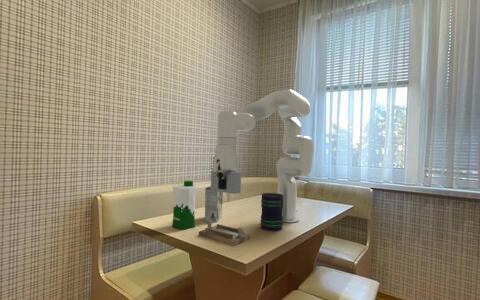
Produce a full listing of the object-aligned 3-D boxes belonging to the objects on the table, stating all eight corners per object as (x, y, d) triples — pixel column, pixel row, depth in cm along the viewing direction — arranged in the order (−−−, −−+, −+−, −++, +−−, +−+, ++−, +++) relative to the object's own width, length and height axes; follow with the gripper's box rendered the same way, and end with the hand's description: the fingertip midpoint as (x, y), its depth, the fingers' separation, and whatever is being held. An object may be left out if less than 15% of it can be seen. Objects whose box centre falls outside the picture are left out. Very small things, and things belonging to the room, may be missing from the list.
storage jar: (258, 229, 115) (259, 195, 115) (262, 224, 124) (263, 192, 124) (281, 232, 112) (282, 197, 112) (283, 226, 122) (284, 193, 122)
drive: (216, 189, 110) (217, 170, 110) (240, 192, 103) (241, 172, 103) (210, 190, 107) (211, 170, 107) (234, 193, 100) (235, 172, 100)
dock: (214, 229, 114) (215, 217, 114) (249, 238, 104) (250, 225, 104) (198, 235, 106) (199, 222, 106) (234, 245, 95) (235, 231, 95)
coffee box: (210, 216, 135) (211, 185, 135) (222, 217, 134) (223, 186, 134) (204, 221, 126) (205, 187, 126) (217, 222, 125) (218, 188, 125)
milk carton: (197, 226, 117) (199, 181, 117) (181, 231, 110) (182, 183, 110) (185, 222, 123) (186, 179, 123) (168, 226, 116) (170, 181, 116)
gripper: (231, 143, 114) (230, 185, 114) (205, 141, 100) (204, 189, 100) (246, 143, 109) (245, 187, 109) (220, 141, 96) (219, 192, 96)
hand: (225, 188), depth 105 cm, fingers closed on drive, 4 cm apart
